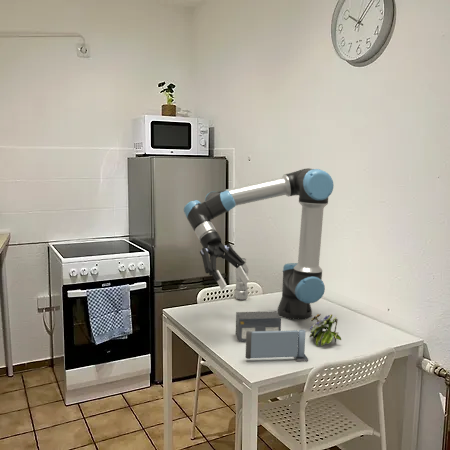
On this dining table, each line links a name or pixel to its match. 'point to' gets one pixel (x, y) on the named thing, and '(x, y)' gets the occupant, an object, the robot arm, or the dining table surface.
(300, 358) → the arm mount
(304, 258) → the robot arm
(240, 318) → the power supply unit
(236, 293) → the plastic bottle
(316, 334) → the passion flower
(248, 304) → the dining table surface
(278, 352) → the blue-grey flat panel
